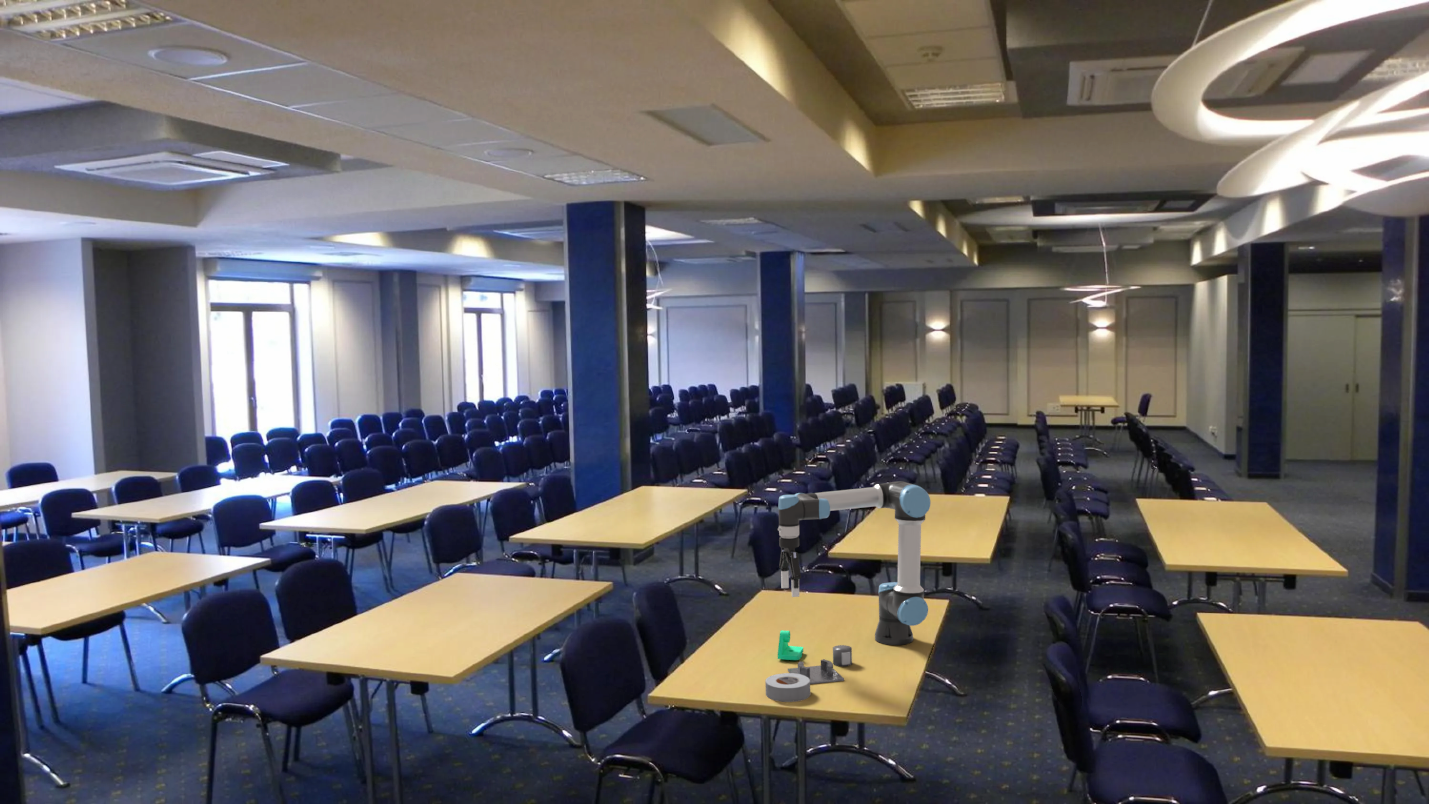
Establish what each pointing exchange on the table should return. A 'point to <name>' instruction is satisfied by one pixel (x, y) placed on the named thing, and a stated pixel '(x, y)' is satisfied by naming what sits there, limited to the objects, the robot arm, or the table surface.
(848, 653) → the cap
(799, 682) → the tape roll
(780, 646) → the camera mount
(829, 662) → the ball joint plate
